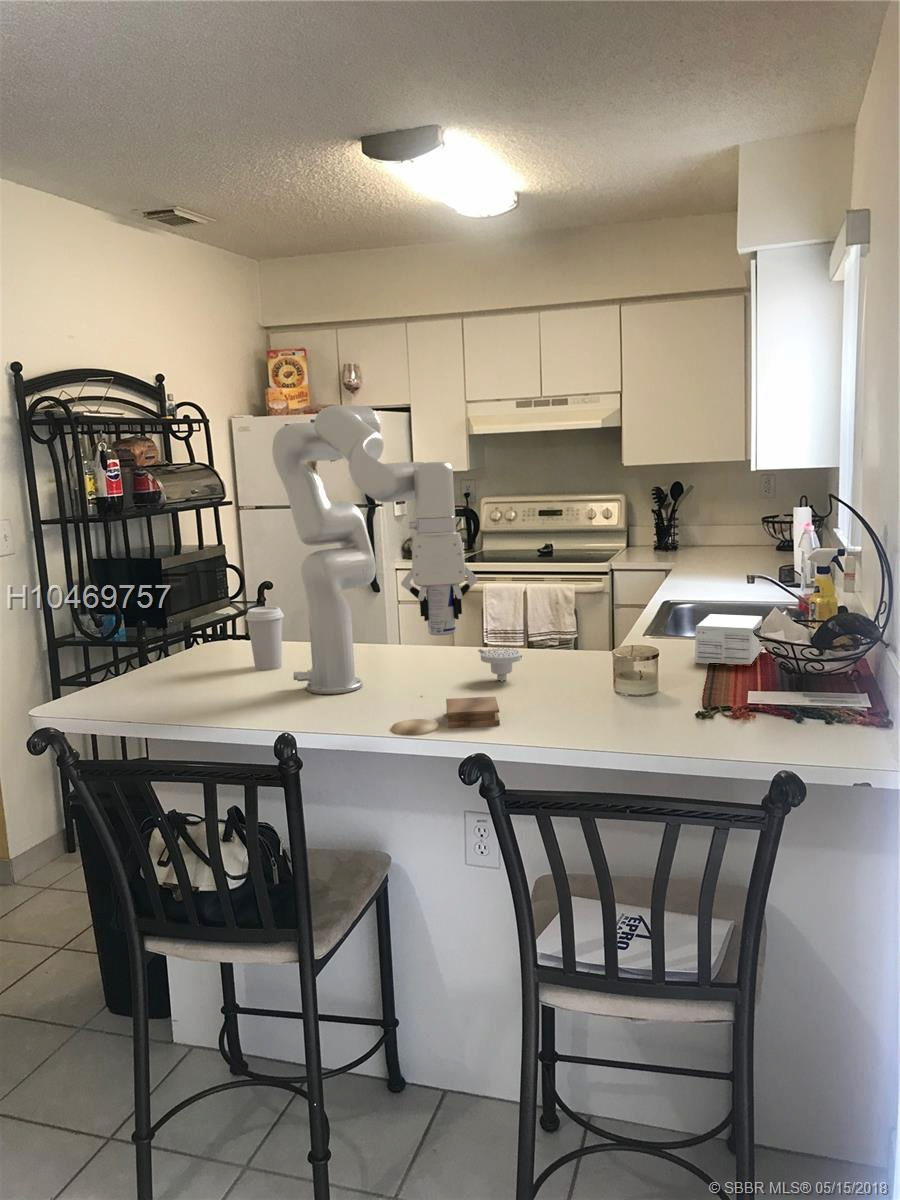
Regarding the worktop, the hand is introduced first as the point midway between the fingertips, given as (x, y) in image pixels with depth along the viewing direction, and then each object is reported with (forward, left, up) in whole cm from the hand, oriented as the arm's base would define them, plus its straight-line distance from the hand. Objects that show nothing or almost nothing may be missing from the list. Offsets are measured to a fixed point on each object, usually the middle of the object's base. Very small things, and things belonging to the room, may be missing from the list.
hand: (441, 618), depth 184 cm
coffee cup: (-44, +52, -20) cm, 71 cm away
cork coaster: (-6, -6, -21) cm, 22 cm away
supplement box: (+70, +40, -21) cm, 83 cm away
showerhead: (+13, +28, -20) cm, 37 cm away
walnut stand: (+5, -2, -20) cm, 21 cm away
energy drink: (0, 0, -3) cm, 3 cm away
